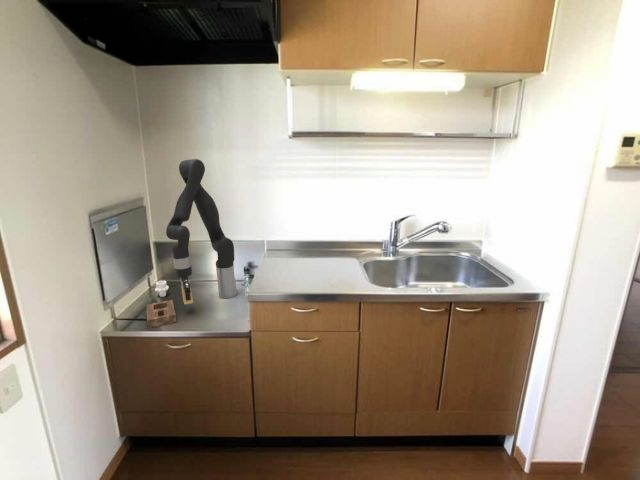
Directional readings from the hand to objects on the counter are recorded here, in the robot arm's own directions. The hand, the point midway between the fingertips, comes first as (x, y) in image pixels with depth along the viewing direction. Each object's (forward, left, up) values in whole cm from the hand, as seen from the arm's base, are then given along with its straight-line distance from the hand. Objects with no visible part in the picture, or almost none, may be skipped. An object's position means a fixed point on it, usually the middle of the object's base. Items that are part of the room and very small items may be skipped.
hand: (187, 298), depth 172 cm
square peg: (0, 0, -2) cm, 2 cm away
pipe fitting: (+11, -27, -8) cm, 30 cm away
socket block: (+13, -1, -8) cm, 15 cm away
